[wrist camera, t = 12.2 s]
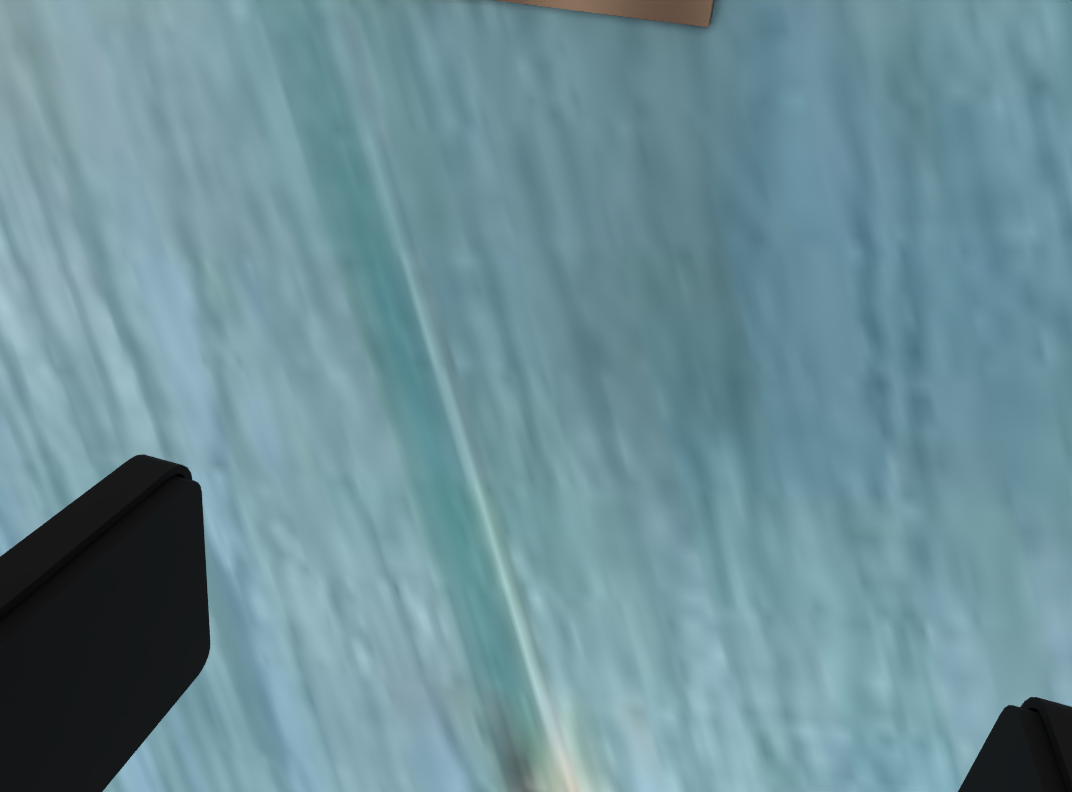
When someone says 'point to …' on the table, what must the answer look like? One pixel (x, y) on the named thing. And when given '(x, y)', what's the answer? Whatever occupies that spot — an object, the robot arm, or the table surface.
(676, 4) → the stand
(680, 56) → the table surface
